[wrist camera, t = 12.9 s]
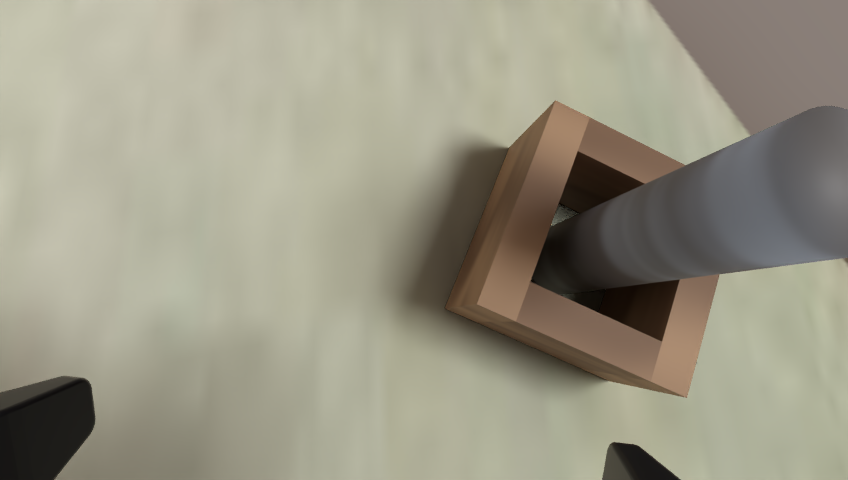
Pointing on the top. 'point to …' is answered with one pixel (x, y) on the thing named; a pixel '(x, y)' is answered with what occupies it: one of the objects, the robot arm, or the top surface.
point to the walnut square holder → (523, 241)
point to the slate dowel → (715, 213)
